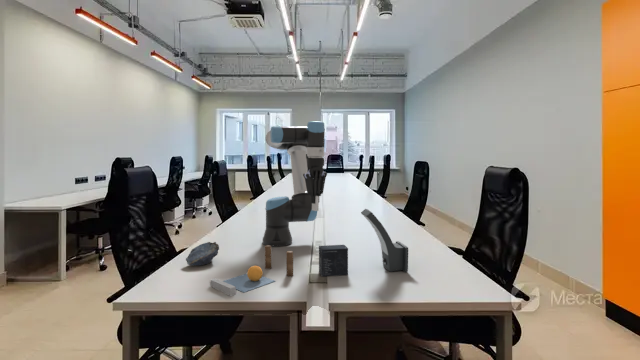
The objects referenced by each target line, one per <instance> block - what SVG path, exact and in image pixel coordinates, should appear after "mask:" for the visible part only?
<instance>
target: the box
mask: <svg viewBox="0 0 640 360" xmlns="http://www.w3.org/2000/svg"><path fill="white" fill-rule="evenodd" d="M318 272H319V274H320V277H336V276H337V277H338V276H348V275H349V248H348V247H347V246H346V245H345V244H328V245H319V246H318Z"/></svg>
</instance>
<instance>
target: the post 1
mask: <svg viewBox="0 0 640 360" xmlns="http://www.w3.org/2000/svg"><path fill="white" fill-rule="evenodd" d="M264 269H266V270H271V269H272V246H270V245H265V246H264Z"/></svg>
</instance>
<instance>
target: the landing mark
mask: <svg viewBox="0 0 640 360" xmlns="http://www.w3.org/2000/svg"><path fill="white" fill-rule="evenodd" d="M222 281H223V282H226V283H228V284H230V285H233V286H235V287H236V291H239V292H242V293H247V292H249V291H252V290H255V289H257V288H260V287H263V286H266V285H269V284H272V283H274V282H276V280H274V279H271V278H269V277H267V276H263V275H262V277H261V279H259V280H258V281H251V280H250V279H249V278H248V276H247V273H244V274H240V275H237V276H235V277H230V278H228V279H225V280H222Z"/></svg>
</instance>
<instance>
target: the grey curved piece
mask: <svg viewBox="0 0 640 360" xmlns="http://www.w3.org/2000/svg"><path fill="white" fill-rule="evenodd" d="M360 213H361V215H362V216H363V217H364V218H365V219H366V220H367V222H368V223H369V224H370V226H371V227H372V228H373V229H374V232H375V233H376V235H377V238H378V240H379V244H380V247H381V257H382V266H383V267H384V268H385V269H386V270H387V272H391V273H392V272H398V271H399V272H400V271H403V272H404V273H408V271H409V247H408V246H407V245H405V244H404V243H402V242H401V241H395V242H393V240H392V239H391V237H390V235H389V234H388V231H387V230H386V228H385V227H384V225H383V224H382V223H381V221H380V220H379V219H378V218H377V217H376V216H375V214H374V213H373V212H372V210H369V209H368V208H364V209H363V210H362V211H361V212H360Z"/></svg>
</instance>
